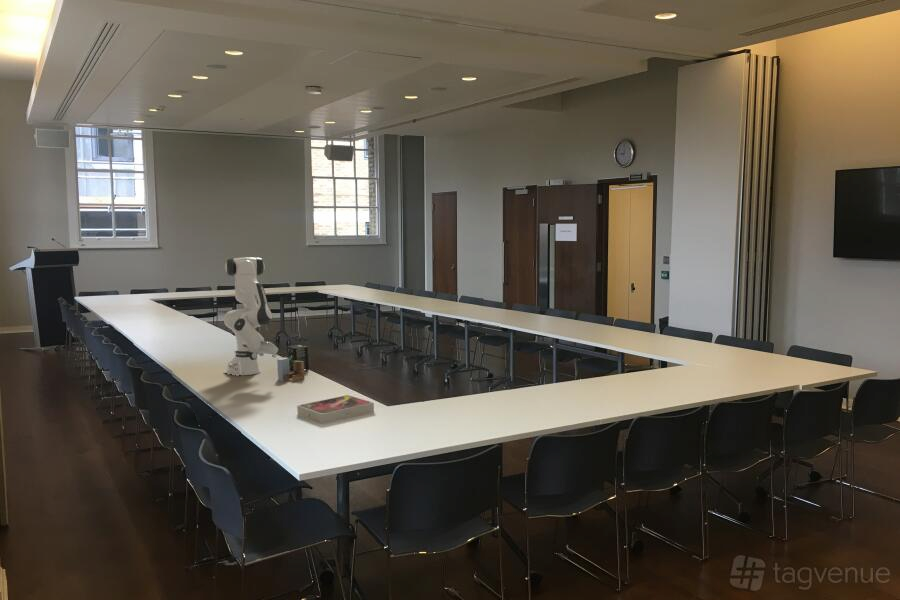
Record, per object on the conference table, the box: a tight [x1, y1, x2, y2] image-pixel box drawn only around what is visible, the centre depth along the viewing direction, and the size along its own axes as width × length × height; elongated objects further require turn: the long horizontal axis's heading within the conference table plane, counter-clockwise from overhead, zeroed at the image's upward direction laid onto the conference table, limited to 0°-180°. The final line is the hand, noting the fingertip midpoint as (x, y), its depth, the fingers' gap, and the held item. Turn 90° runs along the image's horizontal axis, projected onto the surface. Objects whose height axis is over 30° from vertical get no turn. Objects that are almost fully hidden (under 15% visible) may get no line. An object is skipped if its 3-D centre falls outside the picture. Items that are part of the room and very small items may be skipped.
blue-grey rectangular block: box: [276, 357, 291, 381], centre depth 412 cm, size 4×6×12 cm, turn 151°
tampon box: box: [286, 344, 310, 372], centre depth 437 cm, size 11×9×15 cm
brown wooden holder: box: [284, 361, 305, 382], centre depth 410 cm, size 6×9×10 cm
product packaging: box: [296, 394, 375, 425], centre depth 336 cm, size 22×28×5 cm
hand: (268, 355), depth 401 cm, fingers open, 8 cm apart
